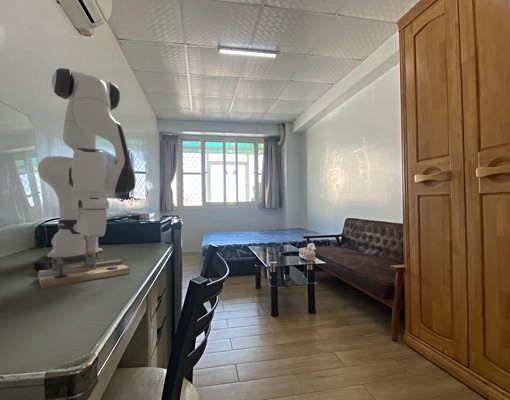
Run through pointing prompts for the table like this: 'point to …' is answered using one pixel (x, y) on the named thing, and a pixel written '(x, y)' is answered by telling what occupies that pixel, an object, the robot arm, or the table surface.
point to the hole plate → (79, 272)
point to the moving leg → (89, 256)
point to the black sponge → (67, 262)
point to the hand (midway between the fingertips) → (89, 250)
